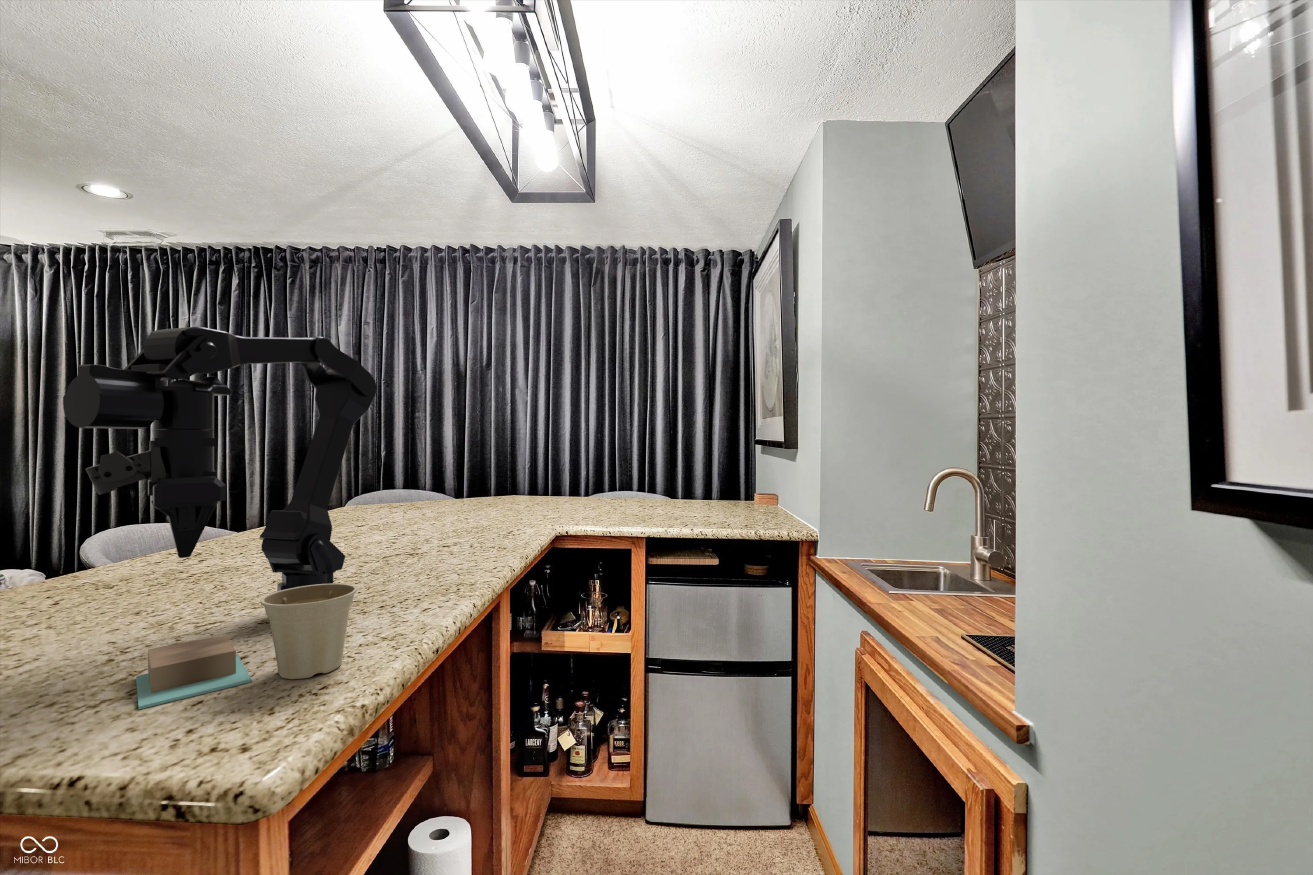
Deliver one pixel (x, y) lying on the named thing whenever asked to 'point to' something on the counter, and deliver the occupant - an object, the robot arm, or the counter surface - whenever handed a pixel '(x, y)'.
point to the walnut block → (190, 662)
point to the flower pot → (309, 627)
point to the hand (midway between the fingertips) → (184, 557)
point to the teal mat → (188, 687)
